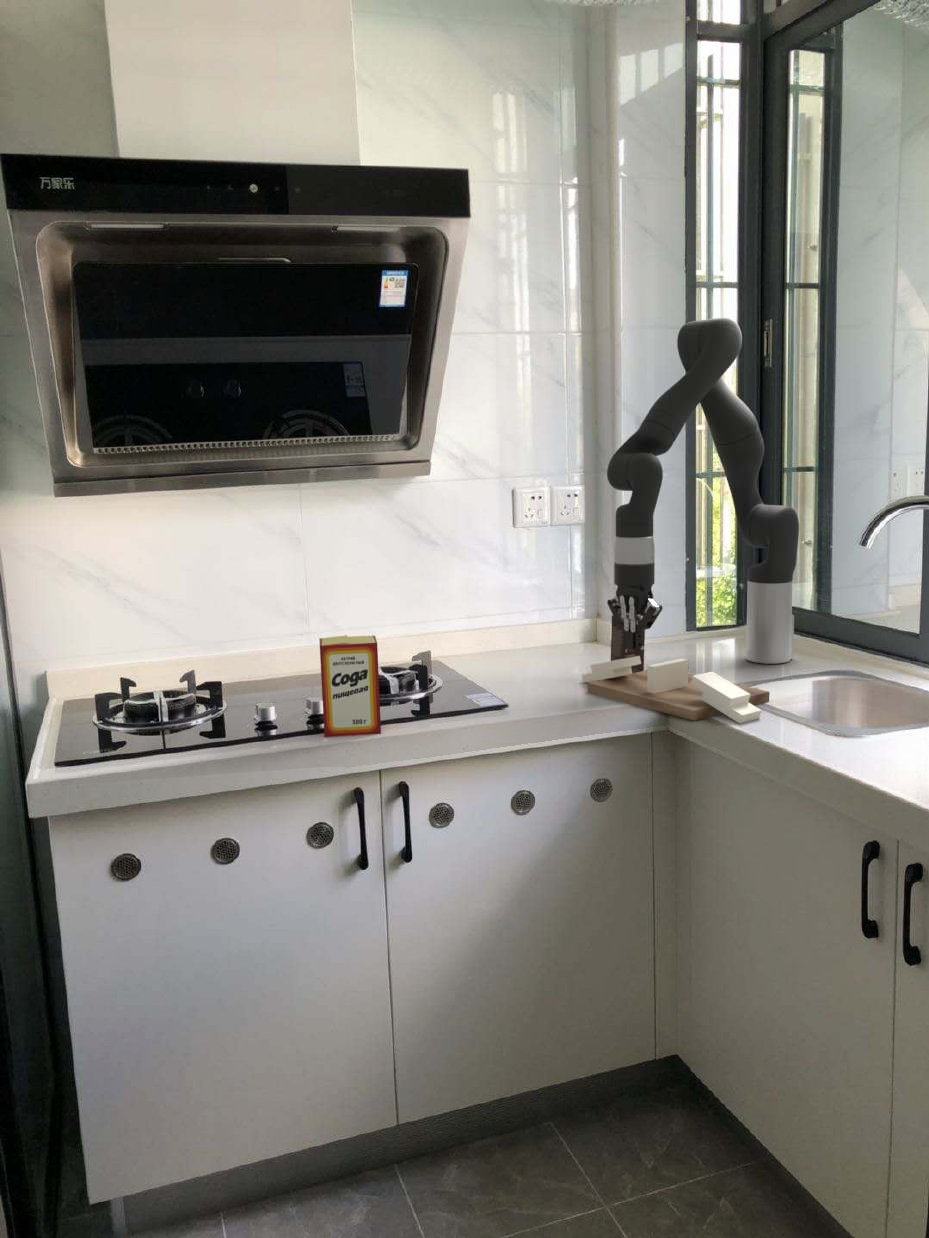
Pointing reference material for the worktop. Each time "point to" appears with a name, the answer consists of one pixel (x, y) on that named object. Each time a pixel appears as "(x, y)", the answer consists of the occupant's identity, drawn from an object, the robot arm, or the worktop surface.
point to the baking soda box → (350, 685)
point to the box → (624, 646)
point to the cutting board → (665, 696)
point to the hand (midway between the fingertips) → (634, 650)
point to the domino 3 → (667, 676)
